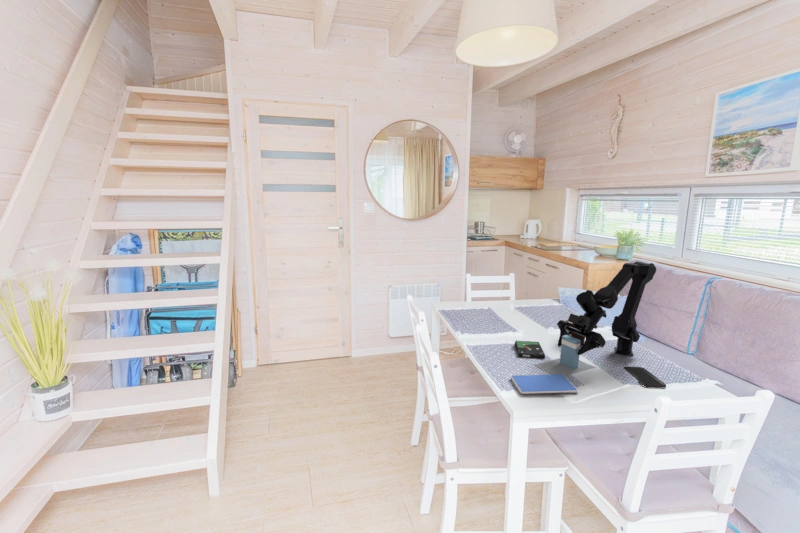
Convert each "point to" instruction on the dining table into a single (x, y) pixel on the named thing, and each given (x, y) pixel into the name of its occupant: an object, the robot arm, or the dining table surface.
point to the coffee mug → (576, 335)
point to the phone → (645, 377)
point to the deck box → (570, 351)
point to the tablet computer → (543, 384)
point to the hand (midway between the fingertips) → (567, 350)
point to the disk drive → (529, 349)
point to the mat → (562, 367)
